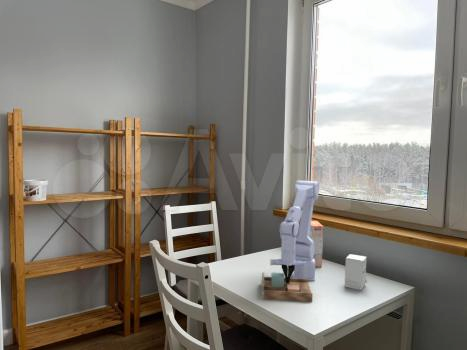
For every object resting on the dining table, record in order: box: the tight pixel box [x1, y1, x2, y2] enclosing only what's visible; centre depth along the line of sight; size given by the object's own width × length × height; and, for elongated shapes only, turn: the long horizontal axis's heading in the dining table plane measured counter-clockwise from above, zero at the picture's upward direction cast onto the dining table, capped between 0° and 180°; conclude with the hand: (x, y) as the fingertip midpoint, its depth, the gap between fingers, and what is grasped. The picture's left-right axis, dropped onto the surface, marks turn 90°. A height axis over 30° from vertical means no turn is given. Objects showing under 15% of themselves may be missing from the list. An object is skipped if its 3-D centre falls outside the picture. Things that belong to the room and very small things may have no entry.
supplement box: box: [343, 253, 367, 291], centre depth 150 cm, size 7×7×13 cm
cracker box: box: [305, 220, 324, 268], centre depth 180 cm, size 14×6×21 cm, turn 179°
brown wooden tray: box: [260, 272, 314, 303], centre depth 143 cm, size 20×15×5 cm
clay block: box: [287, 285, 300, 292], centre depth 139 cm, size 4×4×4 cm
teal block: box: [270, 272, 285, 287], centre depth 146 cm, size 5×5×4 cm
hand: (287, 282), depth 146 cm, fingers closed
